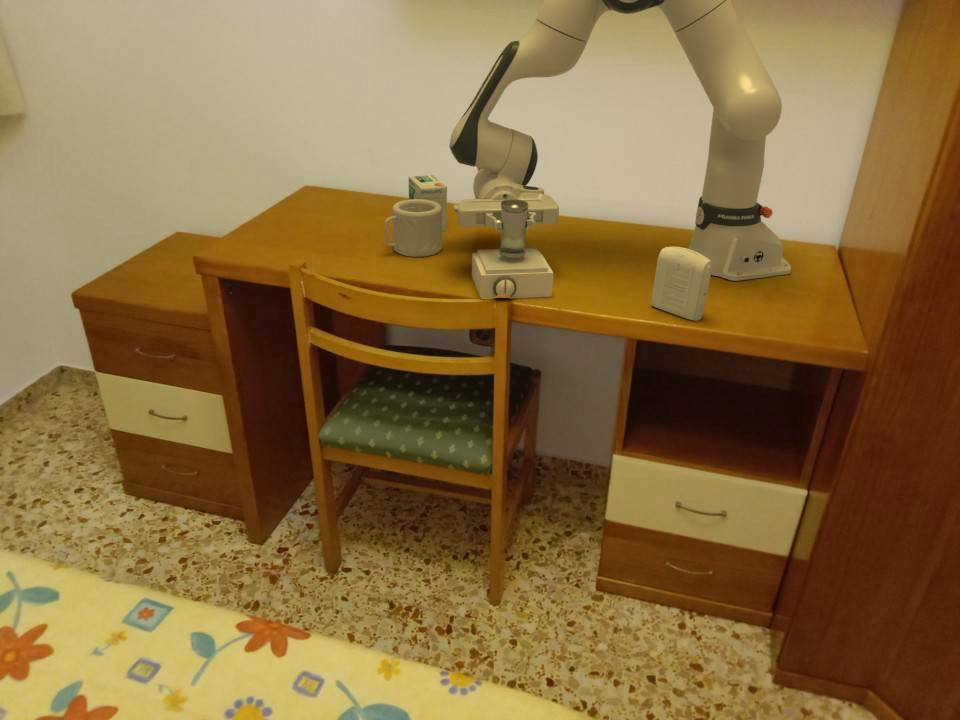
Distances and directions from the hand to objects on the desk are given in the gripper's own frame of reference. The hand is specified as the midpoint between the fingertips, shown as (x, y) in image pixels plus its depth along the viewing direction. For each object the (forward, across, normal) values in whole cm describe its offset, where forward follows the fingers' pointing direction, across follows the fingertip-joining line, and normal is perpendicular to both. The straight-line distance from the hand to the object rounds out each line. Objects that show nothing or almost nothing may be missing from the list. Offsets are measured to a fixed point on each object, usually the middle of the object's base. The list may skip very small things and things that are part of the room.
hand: (514, 225), depth 143 cm
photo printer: (+14, +29, +13) cm, 35 cm away
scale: (-1, 0, +13) cm, 13 cm away
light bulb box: (-40, -13, +13) cm, 44 cm away
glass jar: (-1, 0, +6) cm, 6 cm away
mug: (-23, -18, +13) cm, 32 cm away
